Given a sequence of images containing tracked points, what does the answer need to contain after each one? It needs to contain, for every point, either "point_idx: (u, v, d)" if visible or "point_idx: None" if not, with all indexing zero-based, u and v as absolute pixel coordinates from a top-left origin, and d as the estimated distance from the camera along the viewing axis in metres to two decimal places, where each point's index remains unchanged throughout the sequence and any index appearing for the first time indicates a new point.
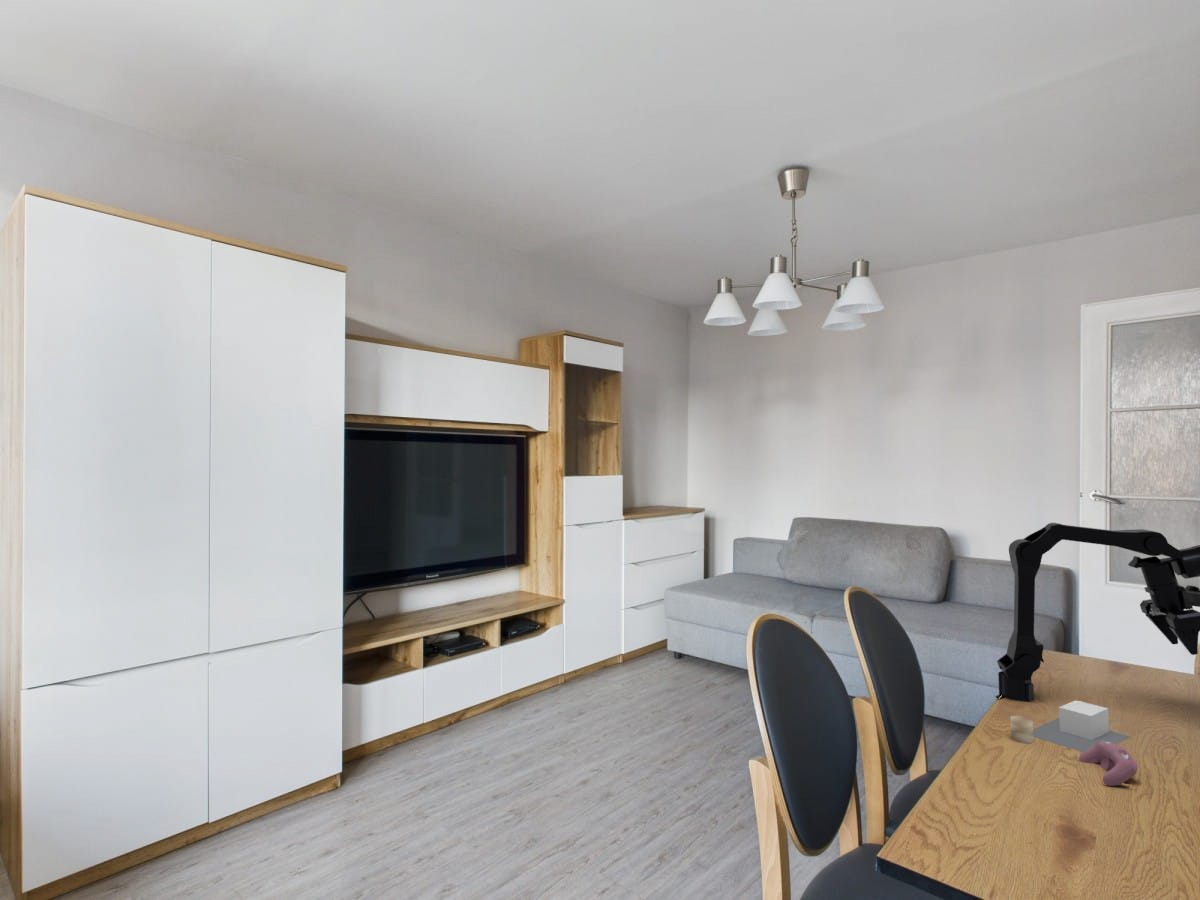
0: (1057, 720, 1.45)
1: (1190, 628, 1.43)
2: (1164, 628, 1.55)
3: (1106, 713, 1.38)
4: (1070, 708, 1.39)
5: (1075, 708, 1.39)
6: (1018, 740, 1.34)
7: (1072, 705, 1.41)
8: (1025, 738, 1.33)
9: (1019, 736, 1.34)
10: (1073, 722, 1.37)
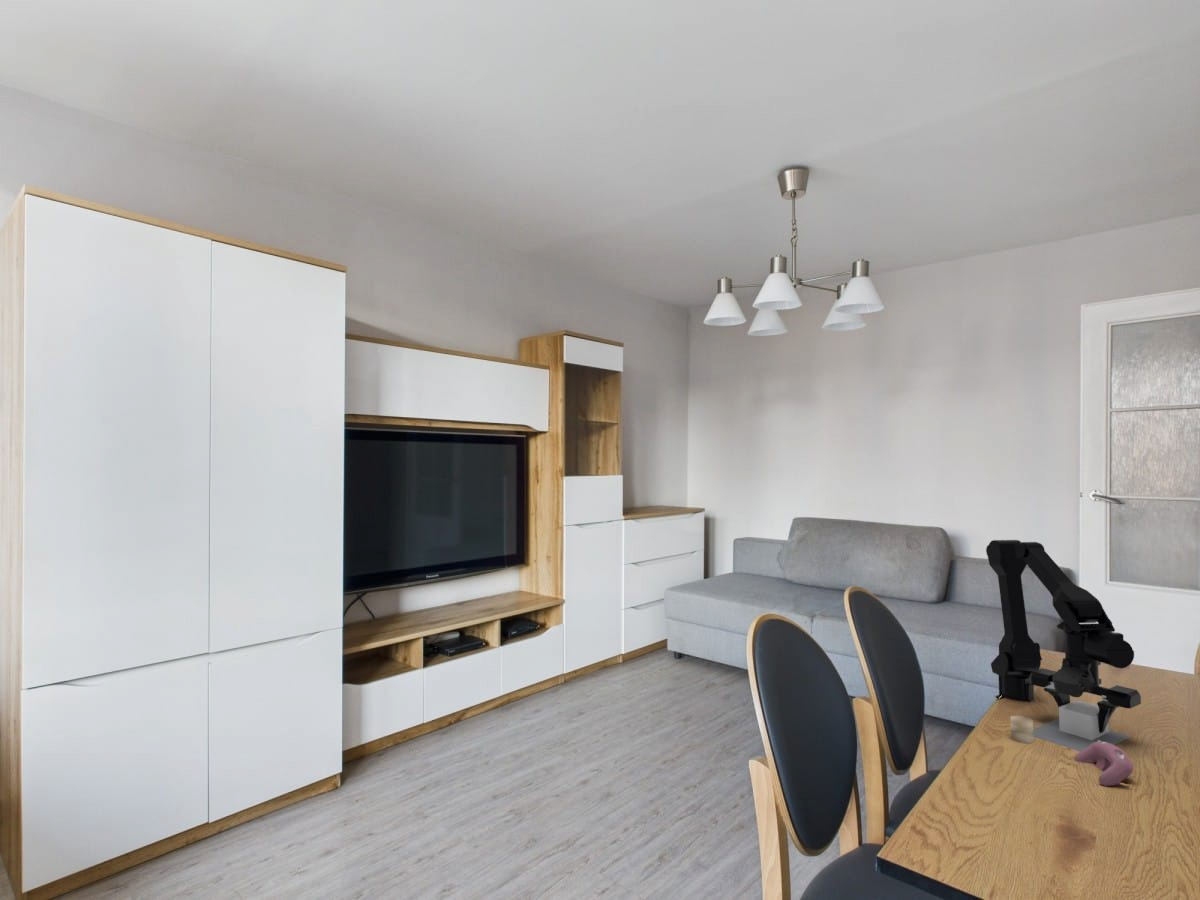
0: (1057, 720, 1.45)
1: None
2: None
3: None
4: (1070, 708, 1.39)
5: (1075, 708, 1.39)
6: (1018, 740, 1.34)
7: (1072, 705, 1.41)
8: (1025, 738, 1.33)
9: (1019, 736, 1.34)
10: (1073, 722, 1.37)
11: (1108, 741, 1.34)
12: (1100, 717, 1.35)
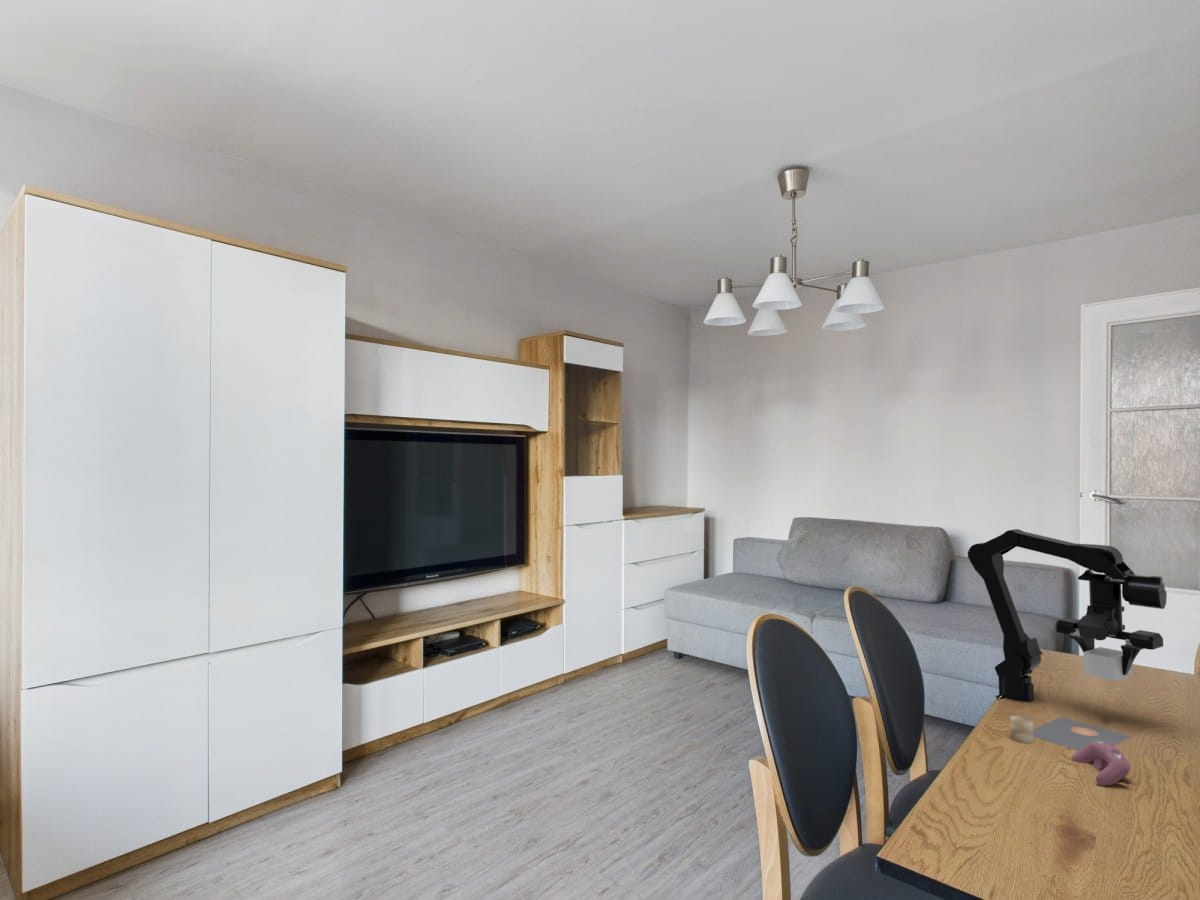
0: (1057, 720, 1.45)
1: None
2: None
3: None
4: (1094, 653, 1.46)
5: (1099, 653, 1.46)
6: (1018, 740, 1.34)
7: (1096, 650, 1.48)
8: (1025, 738, 1.33)
9: (1019, 736, 1.34)
10: (1098, 666, 1.44)
11: (1108, 741, 1.34)
12: (1123, 660, 1.42)
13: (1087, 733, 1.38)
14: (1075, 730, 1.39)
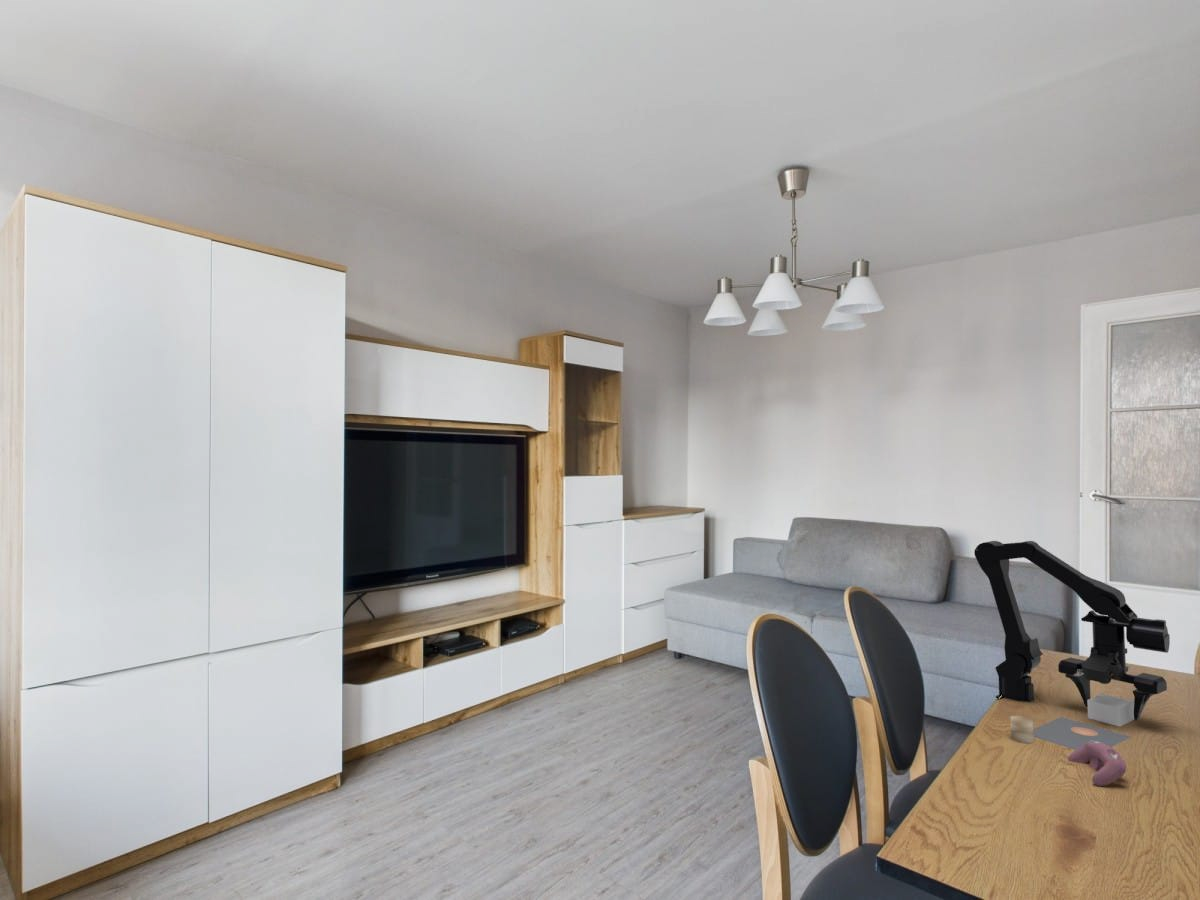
0: (1057, 720, 1.45)
1: None
2: None
3: (1132, 705, 1.45)
4: (1098, 701, 1.46)
5: (1103, 701, 1.46)
6: (1018, 740, 1.34)
7: (1099, 698, 1.48)
8: (1025, 738, 1.33)
9: (1019, 736, 1.34)
10: (1102, 714, 1.44)
11: (1108, 741, 1.34)
12: (1135, 705, 1.41)
13: (1087, 733, 1.38)
14: (1075, 730, 1.39)
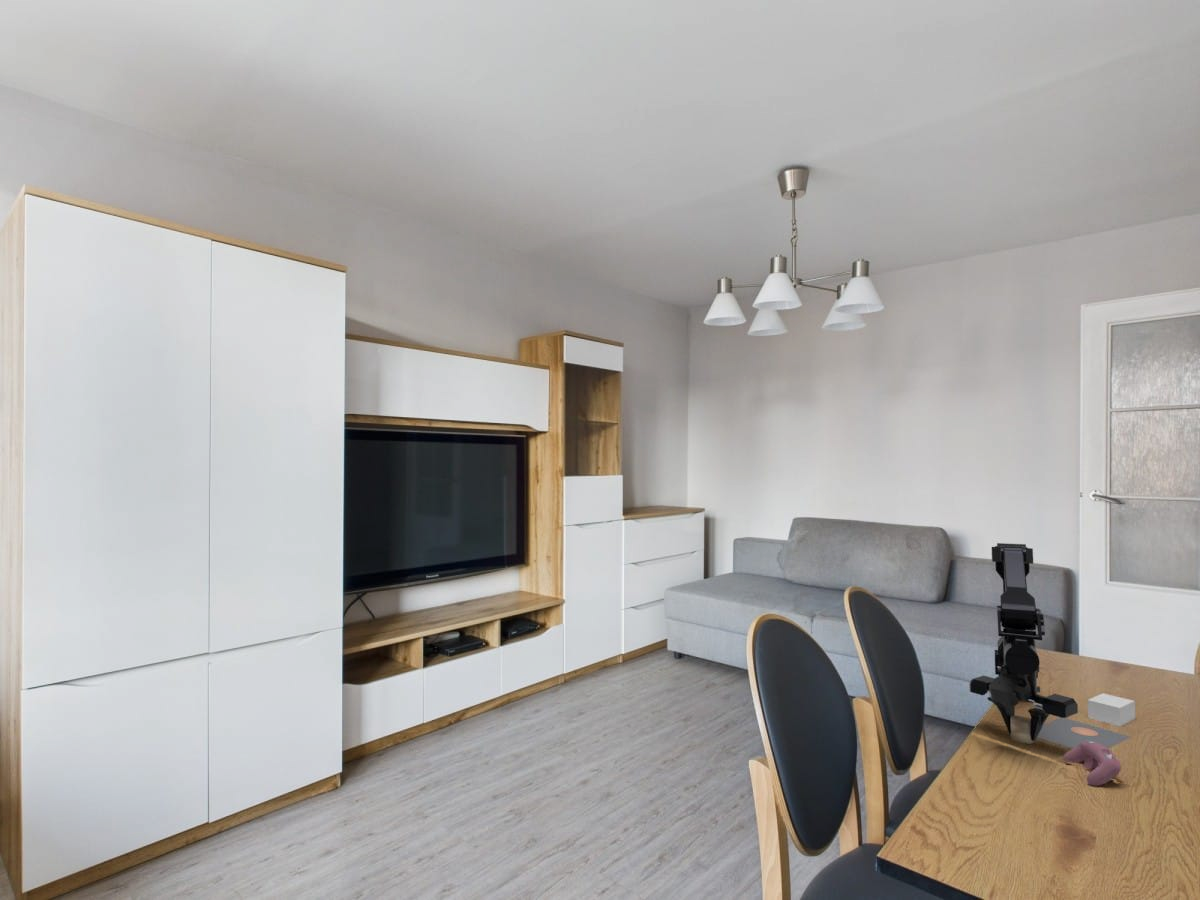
0: (1057, 720, 1.45)
1: None
2: None
3: (1133, 705, 1.45)
4: (1098, 701, 1.46)
5: (1103, 701, 1.46)
6: (1018, 740, 1.34)
7: (1100, 698, 1.48)
8: (1025, 738, 1.33)
9: (1019, 736, 1.34)
10: (1102, 714, 1.44)
11: (1108, 741, 1.34)
12: (1032, 725, 1.33)
13: (1087, 733, 1.38)
14: (1075, 730, 1.39)
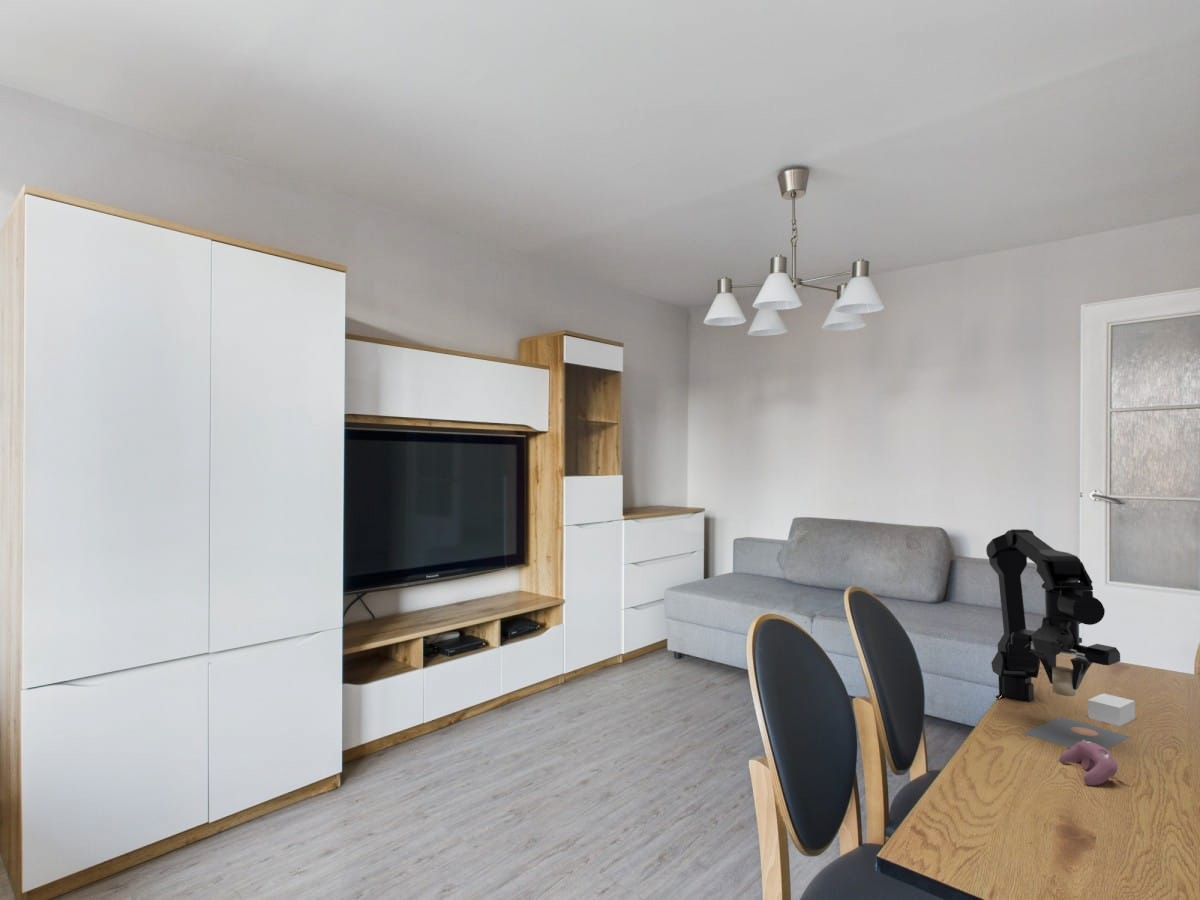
0: (1057, 720, 1.45)
1: None
2: None
3: (1133, 705, 1.45)
4: (1098, 701, 1.46)
5: (1103, 701, 1.46)
6: (1060, 689, 1.37)
7: (1100, 698, 1.48)
8: (1067, 687, 1.37)
9: (1061, 685, 1.37)
10: (1102, 714, 1.44)
11: (1108, 741, 1.34)
12: (1074, 674, 1.36)
13: (1087, 733, 1.38)
14: (1075, 730, 1.39)
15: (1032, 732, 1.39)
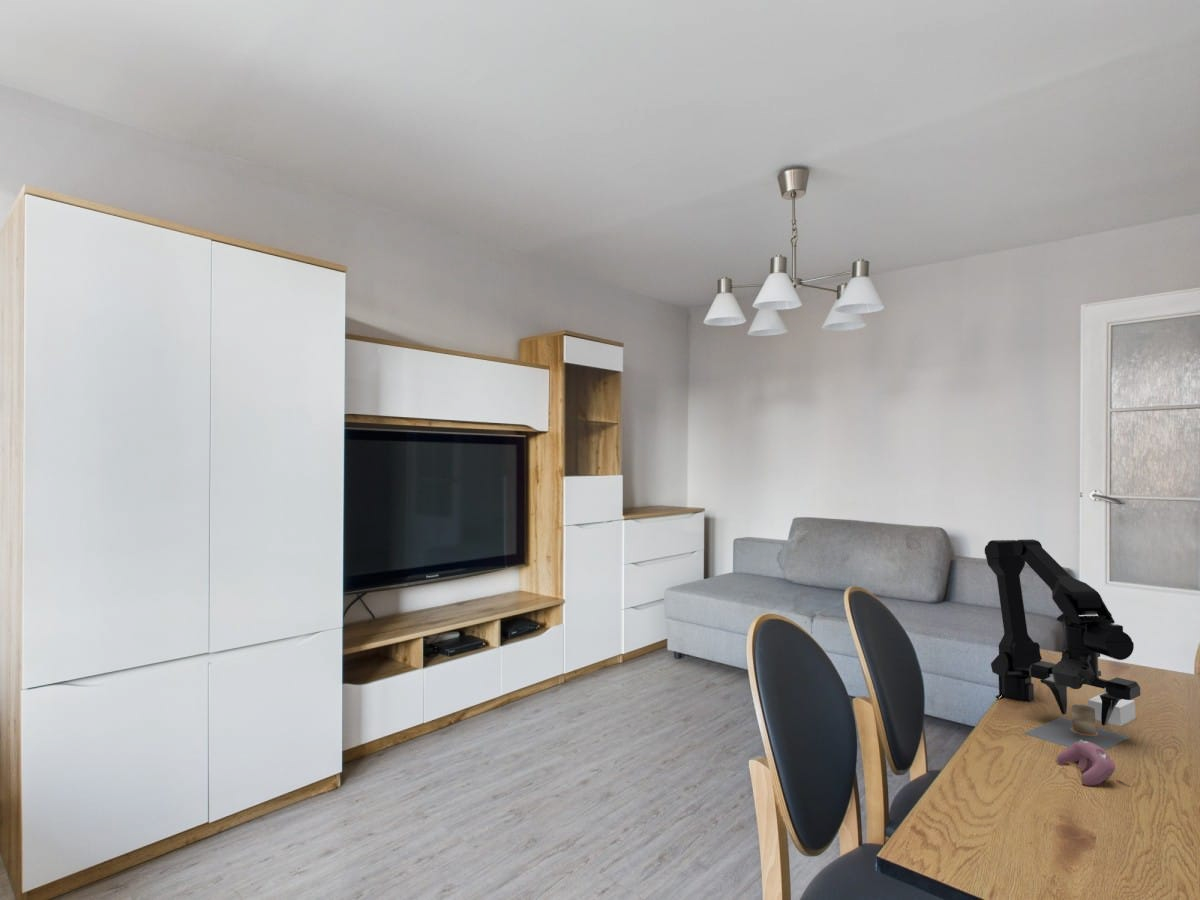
0: (1057, 720, 1.45)
1: None
2: None
3: (1133, 705, 1.46)
4: (1099, 701, 1.46)
5: None
6: (1080, 728, 1.38)
7: None
8: (1087, 726, 1.37)
9: (1081, 724, 1.38)
10: None
11: (1108, 741, 1.34)
12: (1103, 710, 1.35)
13: None
14: None
15: (1032, 732, 1.39)
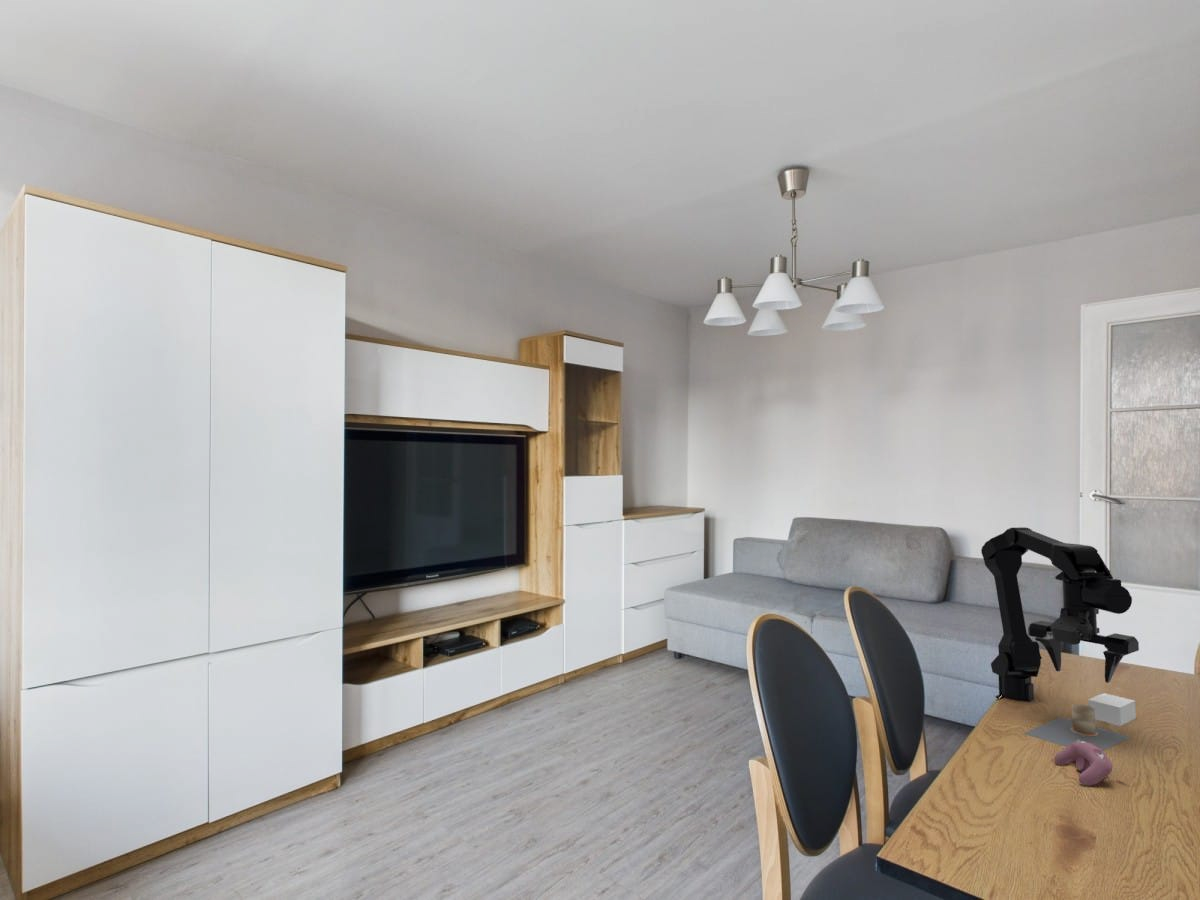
0: (1057, 720, 1.45)
1: None
2: None
3: (1133, 705, 1.46)
4: (1099, 700, 1.46)
5: (1104, 700, 1.46)
6: (1080, 728, 1.38)
7: (1100, 697, 1.48)
8: (1087, 726, 1.37)
9: (1081, 724, 1.38)
10: (1103, 714, 1.44)
11: (1108, 741, 1.34)
12: (1106, 666, 1.35)
13: None
14: None
15: (1032, 732, 1.39)
